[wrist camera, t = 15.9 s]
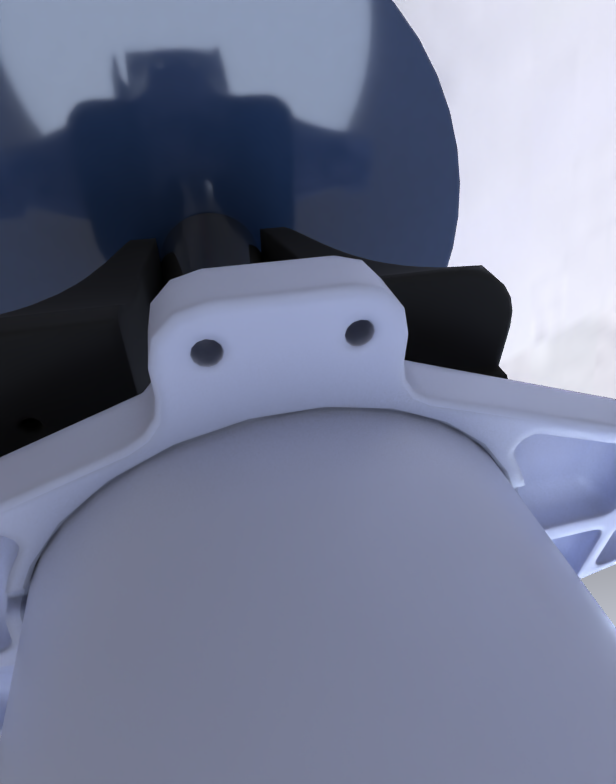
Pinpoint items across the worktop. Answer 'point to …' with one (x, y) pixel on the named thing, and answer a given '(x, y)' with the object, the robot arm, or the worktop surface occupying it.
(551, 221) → the worktop surface
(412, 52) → the lid
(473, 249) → the worktop surface
